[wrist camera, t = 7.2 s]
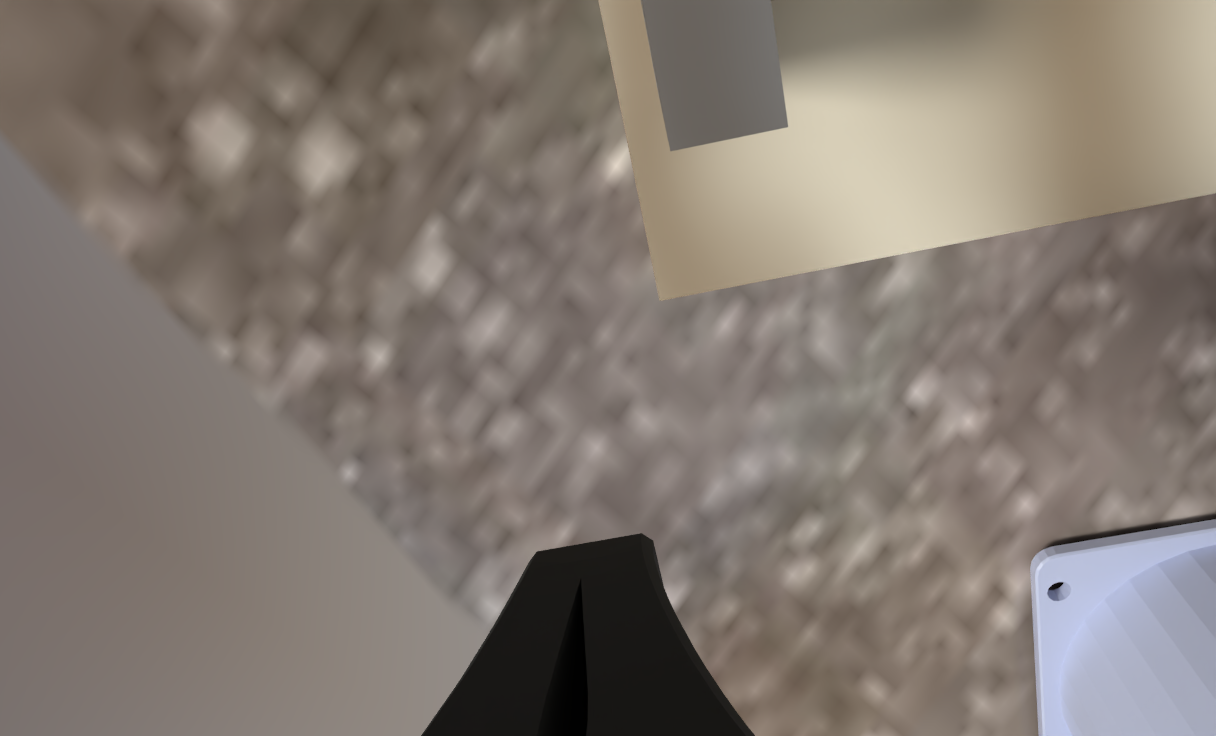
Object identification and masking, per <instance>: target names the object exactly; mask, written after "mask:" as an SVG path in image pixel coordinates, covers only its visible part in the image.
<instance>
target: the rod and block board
mask: <svg viewBox="0 0 1216 736" xmlns="http://www.w3.org/2000/svg"><path fill="white" fill-rule="evenodd" d="M599 5H600V10H601V15H602V20H603V24H604V29H605V34H606V39H607V44H608V49H609V54H610V59H611V64H612V69H613V74H614V79H615V84H616V88H617V93H618V98H619V103H620V108H621V113H622V118H623V123H624V128H625V133H626V138H627V143H628V147H629V152H630V157H631V162H632V167H633V172H634V177H635V182H636V187H637V192H638V197H639V202H640V207H641V211H642V216H643V221H644V226H645V231H646V236H647V241H648V246H649V251H650V256H651V261H652V266H653V271H654V275H655V280H656V285H657V290H658V295H659V300H660V301H662V300H667V299H672V298H677V297H683V296H688V295H693V294H698V293H703V292H708V291H714V290H719V289H724V288H729V287H734V286H739V285H744V284H750V283H755V282H760V281H765V280H770V279H775V278H781V277H786V276H791V275H796V274H801V273H806V272H812V271H817V270H822V269H827V268H832V267H837V266H843V265H848V264H853V263H858V262H863V261H868V260H873V259H879V258H884V257H889V256H894V255H899V254H904V253H910V252H915V251H920V250H925V249H930V248H935V247H941V246H946V245H951V244H956V243H961V242H966V241H972V240H977V239H982V238H987V237H992V236H997V235H1002V234H1008V233H1013V232H1018V231H1023V230H1028V229H1033V228H1039V227H1044V226H1049V225H1054V224H1059V223H1064V222H1070V221H1075V220H1080V219H1085V218H1090V217H1095V216H1100V215H1106V214H1111V213H1116V212H1121V211H1126V210H1131V209H1137V208H1142V207H1147V206H1152V205H1157V204H1162V203H1168V202H1173V201H1178V200H1183V199H1188V198H1193V197H1199V196H1204V195H1209V194H1214V193H1216V0H599Z"/></svg>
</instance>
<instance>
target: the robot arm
mask: <svg viewBox="0 0 1216 736" xmlns="http://www.w3.org/2000/svg"><path fill="white" fill-rule="evenodd" d="M1030 572H1031V592H1032V612H1033V632H1034V652H1035V672H1036V691H1037V711H1038V731H1039V736H1216V519H1213V520H1207V521H1201V522H1195V523H1189V524H1183V525H1178V526H1172V527H1166V528H1160V529H1154V530H1148V531H1142V532H1136V533H1130V534H1124V535H1118V536H1112V537H1106V538H1100V539H1094V540H1088V541H1082V542H1076V543H1070V544H1064V545H1058V546H1052V547H1049V548H1046V549H1043V550H1042V551H1040V552H1039V553H1038V554H1036V556H1035V557H1034V558H1033V560H1032V562H1031V567H1030ZM1058 582H1063V584H1062V585H1061V586H1060V587H1059V588H1058V589H1055V590H1048V589H1049V588H1050V587H1051V586H1052V585H1053V584H1055V583H1058ZM421 736H755V735H754V734H753V733H752V731H751V730H750V729H749V728H748V726H747V725H746V724H745V723H744V721H743V720H742V719H741V717H740V716H739V715H738V713H737V712H736V711H735V709H734V708H733V706H732V705H731V704H730V702H729V701H728V700H727V698H726V697H725V695H724V694H723V692H722V691H721V689H720V688H719V686H718V685H717V683H716V682H715V680H714V679H713V677H712V676H711V674H710V673H709V671H708V670H707V668H706V667H705V665H704V664H703V662H702V660H701V659H700V657H699V655H698V654H697V652H696V650H695V649H694V647H693V645H692V643H691V641H690V640H689V638H688V636H687V634H686V632H685V630H684V629H683V627H682V625H681V623H680V621H679V620H678V618H677V616H676V614H675V612H674V610H673V608H672V605H671V603H670V601H669V599H668V596H667V594H666V592H665V589H664V586H663V582H662V578H661V573H660V569H659V565H658V560H657V556H656V551H655V547H654V543H653V540H651V539H650V538H648V537H646V536H645V535H643V534H642V533H641V534H635V535H630V536H624V537H618V538H612V539H607V540H601V541H595V542H589V543H584V544H578V545H572V546H566V547H561V548H555V549H549V550H544V551H538V552H536V553H535V555H534V556H533V557H532V559H531V560H530V562H529V563H528V565H527V567H526V569H525V571H524V572H523V574H522V576H521V578H520V580H519V582H518V583H517V585H516V587H515V589H514V591H513V592H512V594H511V596H510V598H509V600H508V601H507V603H506V605H505V607H504V609H503V610H502V612H501V614H500V615H499V617H498V619H497V621H496V622H495V624H494V626H493V628H492V629H491V631H490V633H489V634H488V636H487V638H486V639H485V641H484V642H483V644H482V646H481V647H480V649H479V650H478V652H477V654H476V655H475V657H474V659H473V660H472V662H471V663H470V665H469V667H468V668H467V670H466V672H465V673H464V675H463V676H462V678H461V679H460V681H459V682H458V684H457V685H456V687H455V688H454V690H453V691H452V693H451V694H450V695H449V697H448V698H447V700H446V701H445V703H444V704H443V705H442V707H441V708H440V710H439V711H438V713H437V714H436V715H435V717H434V718H433V720H432V721H431V723H430V724H429V725H428V727H427V728H426V730H425V731H424V732H423V734H422V735H421Z"/></svg>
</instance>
